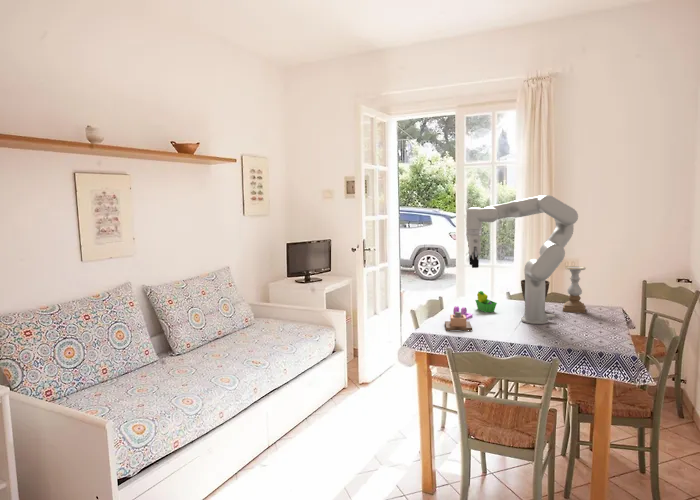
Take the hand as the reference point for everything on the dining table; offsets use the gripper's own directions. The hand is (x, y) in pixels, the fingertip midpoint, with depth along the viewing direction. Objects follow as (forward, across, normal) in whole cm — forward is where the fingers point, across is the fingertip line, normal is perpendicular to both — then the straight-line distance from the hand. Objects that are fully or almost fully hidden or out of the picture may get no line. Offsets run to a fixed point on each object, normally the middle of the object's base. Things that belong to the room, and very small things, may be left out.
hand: (473, 266), depth 247 cm
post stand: (+28, -13, +9) cm, 32 cm away
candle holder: (+29, +25, -57) cm, 68 cm away
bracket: (+29, +6, +4) cm, 30 cm away
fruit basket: (+29, +23, -9) cm, 38 cm away
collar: (+27, -13, +9) cm, 31 cm away
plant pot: (+28, +25, -36) cm, 52 cm away
